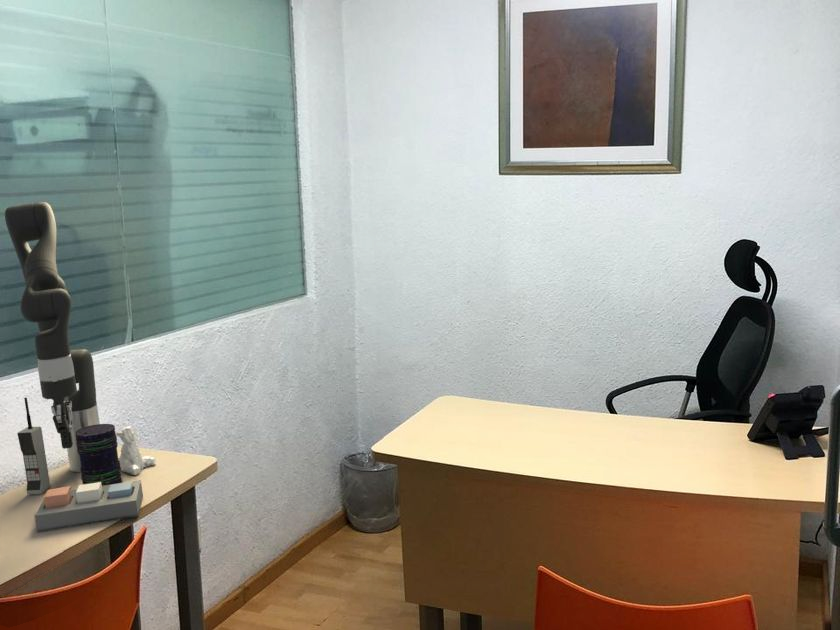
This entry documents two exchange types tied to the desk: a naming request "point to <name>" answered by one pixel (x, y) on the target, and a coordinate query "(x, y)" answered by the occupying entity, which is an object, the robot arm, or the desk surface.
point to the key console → (90, 510)
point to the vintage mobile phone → (34, 457)
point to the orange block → (58, 497)
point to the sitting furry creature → (132, 453)
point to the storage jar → (98, 454)
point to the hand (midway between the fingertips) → (67, 447)
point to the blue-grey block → (120, 490)
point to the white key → (89, 492)
